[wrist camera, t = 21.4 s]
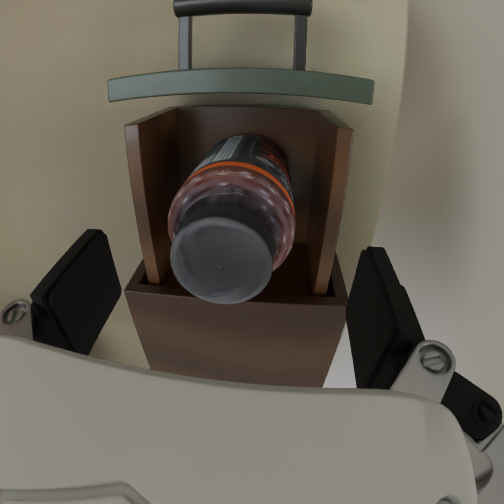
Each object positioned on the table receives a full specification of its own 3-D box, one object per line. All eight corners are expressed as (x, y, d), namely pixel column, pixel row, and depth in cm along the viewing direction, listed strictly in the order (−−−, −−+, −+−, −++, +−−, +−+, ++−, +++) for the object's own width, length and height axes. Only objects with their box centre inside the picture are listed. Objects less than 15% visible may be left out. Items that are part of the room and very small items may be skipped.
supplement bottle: (306, 181, 21) (330, 285, 12) (239, 224, 23) (214, 341, 14) (255, 113, 19) (232, 159, 9) (188, 164, 21) (117, 252, 11)
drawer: (161, 14, 16) (107, -6, 9) (342, 15, 15) (378, -12, 8) (173, 237, 26) (141, 298, 19) (320, 245, 25) (334, 312, 18)
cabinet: (167, 218, 26) (123, 290, 18) (328, 226, 25) (350, 306, 17) (185, 333, 34) (165, 405, 26) (306, 342, 33) (310, 418, 25)
